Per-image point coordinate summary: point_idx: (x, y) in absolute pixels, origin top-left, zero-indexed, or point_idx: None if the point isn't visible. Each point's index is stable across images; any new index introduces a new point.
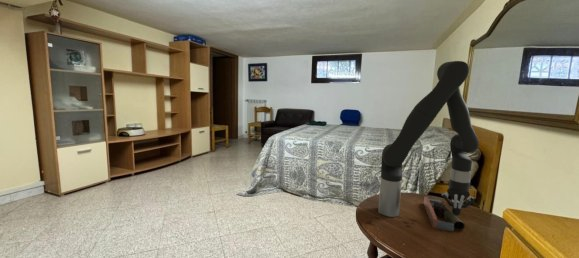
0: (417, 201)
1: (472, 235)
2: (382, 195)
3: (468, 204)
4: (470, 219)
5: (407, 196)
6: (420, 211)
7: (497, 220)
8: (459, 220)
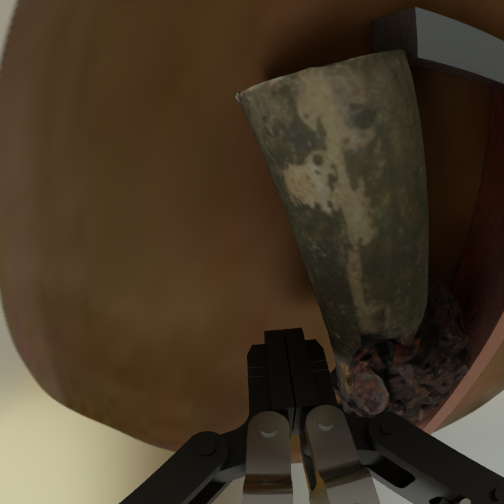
0: None
1: (172, 14)
2: None
3: (156, 489)
4: (151, 346)
5: None
6: None
7: (32, 370)
8: (338, 105)
